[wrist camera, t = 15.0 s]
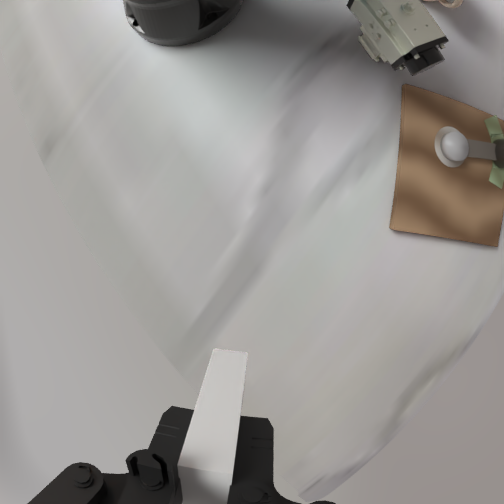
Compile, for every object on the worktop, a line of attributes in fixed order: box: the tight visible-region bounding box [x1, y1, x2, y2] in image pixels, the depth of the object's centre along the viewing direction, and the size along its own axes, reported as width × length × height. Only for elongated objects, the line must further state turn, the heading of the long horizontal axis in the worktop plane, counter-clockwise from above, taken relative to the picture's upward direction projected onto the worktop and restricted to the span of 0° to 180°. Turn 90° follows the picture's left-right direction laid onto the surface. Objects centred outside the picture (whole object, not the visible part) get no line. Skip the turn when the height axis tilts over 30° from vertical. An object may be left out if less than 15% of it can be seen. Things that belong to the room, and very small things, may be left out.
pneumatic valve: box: [347, 0, 449, 76], centre depth 24 cm, size 6×12×12 cm, turn 32°
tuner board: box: [389, 84, 504, 247], centre depth 32 cm, size 18×18×1 cm
